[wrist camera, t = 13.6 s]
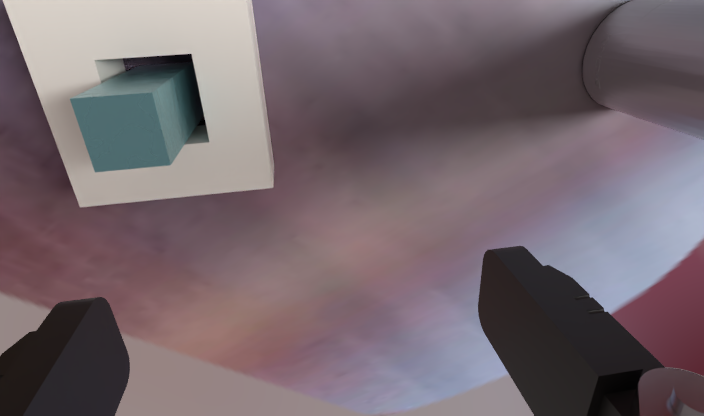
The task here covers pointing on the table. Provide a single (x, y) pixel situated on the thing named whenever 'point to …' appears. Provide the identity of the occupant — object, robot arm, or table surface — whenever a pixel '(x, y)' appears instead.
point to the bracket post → (139, 116)
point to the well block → (107, 62)
